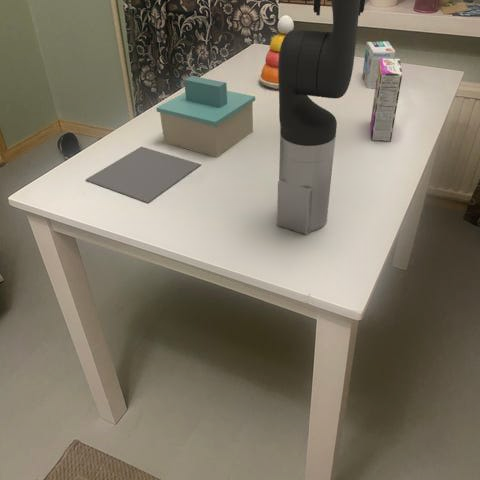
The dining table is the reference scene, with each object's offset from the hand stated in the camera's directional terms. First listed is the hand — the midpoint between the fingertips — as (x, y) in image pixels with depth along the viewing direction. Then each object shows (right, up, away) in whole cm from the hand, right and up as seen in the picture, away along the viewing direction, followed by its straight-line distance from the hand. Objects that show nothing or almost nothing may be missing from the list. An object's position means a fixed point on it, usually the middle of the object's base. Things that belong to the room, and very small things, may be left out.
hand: (337, 14), depth 102 cm
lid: (-29, -16, +12) cm, 35 cm away
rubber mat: (-42, -34, +3) cm, 54 cm away
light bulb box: (+21, 0, +43) cm, 48 cm away
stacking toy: (-8, 0, +45) cm, 46 cm away
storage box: (-29, -23, +16) cm, 40 cm away
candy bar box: (+14, -22, +16) cm, 30 cm away
